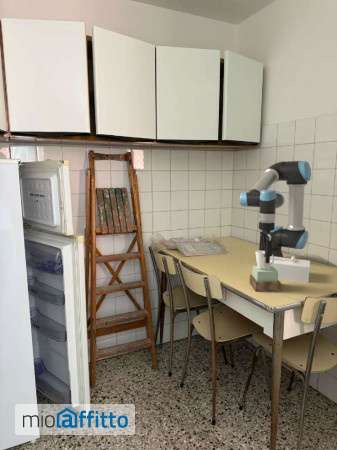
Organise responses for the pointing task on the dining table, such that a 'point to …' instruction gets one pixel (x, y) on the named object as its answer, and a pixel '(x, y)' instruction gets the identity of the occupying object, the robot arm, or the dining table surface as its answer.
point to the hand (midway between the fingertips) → (264, 266)
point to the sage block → (265, 274)
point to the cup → (261, 259)
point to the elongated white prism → (291, 268)
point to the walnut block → (265, 285)
